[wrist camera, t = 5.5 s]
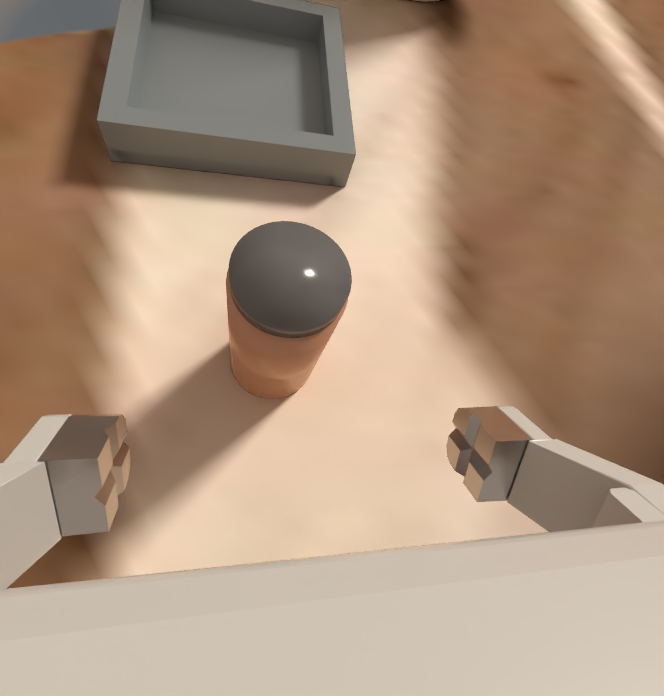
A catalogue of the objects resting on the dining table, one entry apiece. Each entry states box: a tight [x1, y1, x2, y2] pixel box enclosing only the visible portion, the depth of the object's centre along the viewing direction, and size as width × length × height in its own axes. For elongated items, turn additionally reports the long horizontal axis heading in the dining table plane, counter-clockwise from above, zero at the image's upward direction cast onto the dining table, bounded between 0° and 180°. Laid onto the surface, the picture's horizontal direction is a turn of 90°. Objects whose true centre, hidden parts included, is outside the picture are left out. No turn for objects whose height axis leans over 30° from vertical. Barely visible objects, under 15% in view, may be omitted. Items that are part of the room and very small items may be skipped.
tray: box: [97, 0, 356, 187], centre depth 24 cm, size 13×13×2 cm
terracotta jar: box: [226, 221, 352, 399], centre depth 16 cm, size 4×4×8 cm
